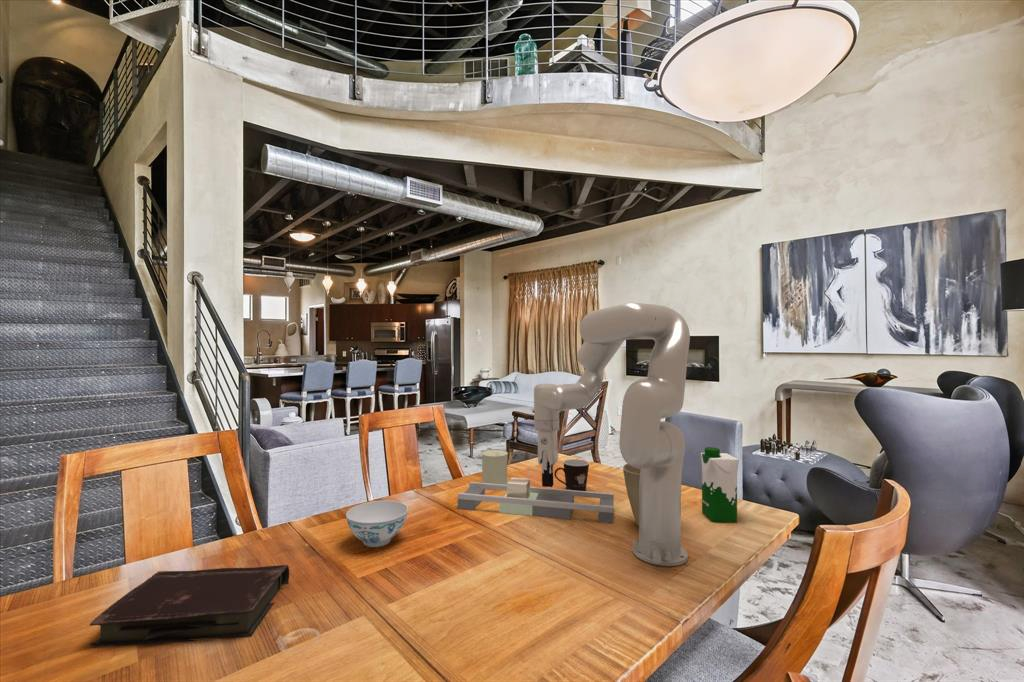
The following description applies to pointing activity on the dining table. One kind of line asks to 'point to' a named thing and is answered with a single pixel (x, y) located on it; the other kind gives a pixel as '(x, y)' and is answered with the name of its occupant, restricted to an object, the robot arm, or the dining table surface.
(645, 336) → the robot arm
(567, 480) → the coffee mug
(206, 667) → the dining table surface
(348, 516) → the chinaware
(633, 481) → the plant pot
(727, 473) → the milk carton
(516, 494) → the block
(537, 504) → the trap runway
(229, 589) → the diary
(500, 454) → the can
